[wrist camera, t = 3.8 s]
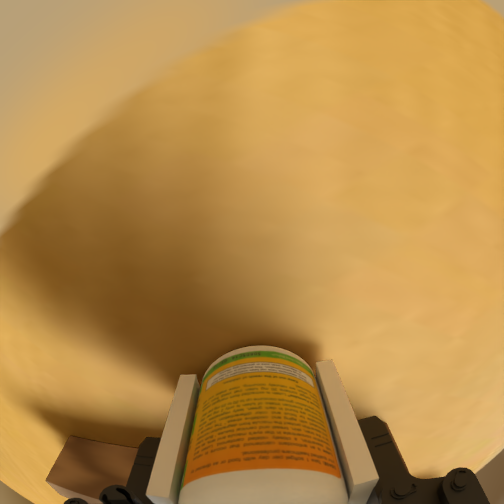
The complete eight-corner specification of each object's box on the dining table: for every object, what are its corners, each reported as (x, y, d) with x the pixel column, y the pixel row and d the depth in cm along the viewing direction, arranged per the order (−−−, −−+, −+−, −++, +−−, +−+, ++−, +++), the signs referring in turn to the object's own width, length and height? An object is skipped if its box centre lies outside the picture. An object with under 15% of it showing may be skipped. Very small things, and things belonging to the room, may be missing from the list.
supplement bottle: (182, 360, 12) (121, 563, 3) (297, 324, 12) (360, 561, 2) (229, 431, 14) (219, 591, 4) (325, 405, 13) (370, 573, 4)
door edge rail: (85, 455, 16) (56, 517, 9) (66, 430, 15) (30, 495, 8) (378, 449, 15) (406, 526, 8) (386, 422, 14) (424, 508, 7)
